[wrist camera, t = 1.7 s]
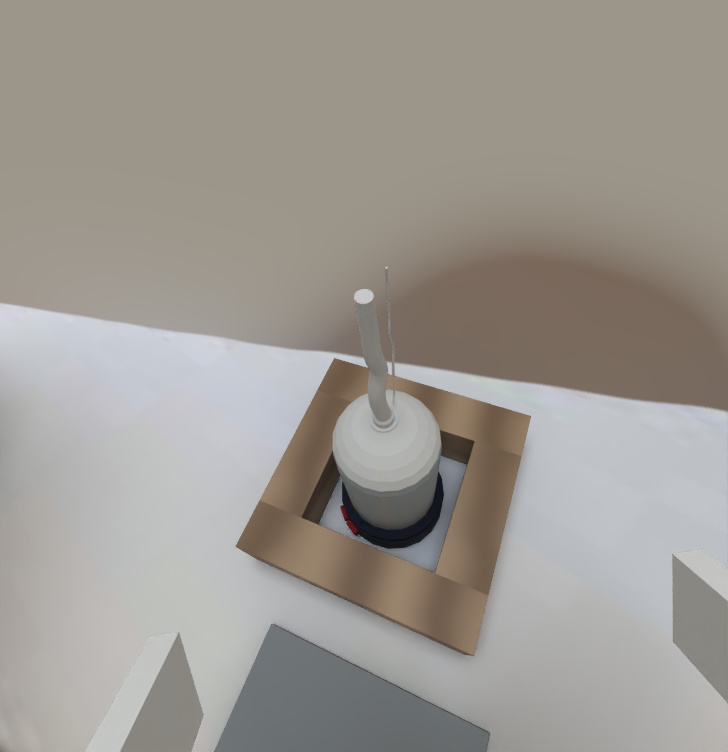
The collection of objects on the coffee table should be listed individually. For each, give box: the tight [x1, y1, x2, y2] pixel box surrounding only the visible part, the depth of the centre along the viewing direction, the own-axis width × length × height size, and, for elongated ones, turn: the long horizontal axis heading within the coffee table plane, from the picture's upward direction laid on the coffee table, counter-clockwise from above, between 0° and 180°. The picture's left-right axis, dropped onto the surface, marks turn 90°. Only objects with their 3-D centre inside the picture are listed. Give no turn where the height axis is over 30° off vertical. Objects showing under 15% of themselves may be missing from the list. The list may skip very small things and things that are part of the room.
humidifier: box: [333, 267, 444, 549], centre depth 26 cm, size 8×8×25 cm
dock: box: [236, 358, 531, 656], centre depth 34 cm, size 17×17×5 cm
